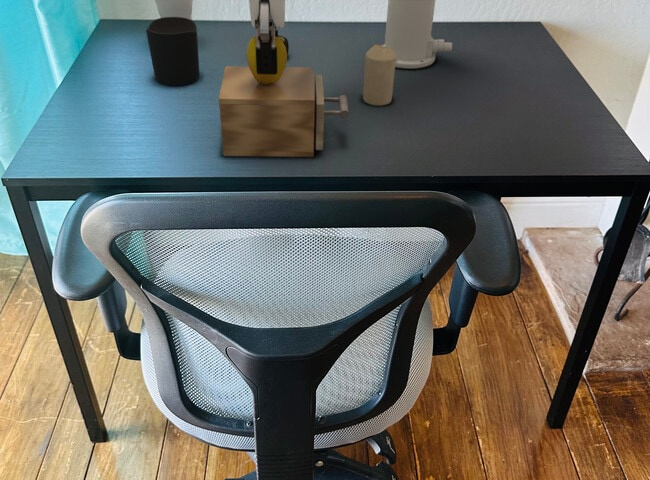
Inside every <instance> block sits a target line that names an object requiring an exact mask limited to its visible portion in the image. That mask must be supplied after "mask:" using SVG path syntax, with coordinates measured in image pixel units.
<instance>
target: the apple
mask: <svg viewBox="0 0 650 480" xmlns="http://www.w3.org/2000/svg"><path fill="white" fill-rule="evenodd" d="M256 47H257V35H255V36H253V37H252V38H251V39H250V41H249V42H248V45H247V49H246V60H247V66H248V67H249V68H250V71H251V73H252V74H253V76H254V78H255V79H256V80H257V82H260V83H262V84H270V83H275V82H277V81H278V80H279V79H280V78H281V76H282V74H283V71H284V69H285V67H287V64H288V55H287V51H286V48H285V45H284V43H283V42H282V41H281V39H279V38H278V37H275V47H277V74H257V70H256Z"/></svg>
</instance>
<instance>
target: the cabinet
mask: <svg viewBox="0 0 650 480" xmlns="http://www.w3.org/2000/svg"><path fill="white" fill-rule="evenodd" d="M218 105H219V106H218V107H219V117H220V118H219V119H220V130H221V142H222V155H223V157H284V158H285V157H287V158H288V157H291V158H292V157H293V158H294V157H295V158H296V157H297V158H314V154H315V122H314V109H315V76H314V67H307V66H306V67H303V66H301V67H298V66H290V67H289V66H286V67H285V69H284V71H283V74H282V76H281V78H280V79H279V80H278V81H277V82H275V83H270V84H262V83H260V82H257V80H256V79H255V78H254V76H253V74H252V73H251V71H250V68H249V66H241V65H240V66H235V65H226V66H225V67H224V71H223V76H222V81H221V85H220V91H219V96H218Z"/></svg>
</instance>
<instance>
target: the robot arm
mask: <svg viewBox="0 0 650 480" xmlns="http://www.w3.org/2000/svg"><path fill="white" fill-rule="evenodd" d="M248 5H249V15H250V23H251V26H252V28H254V29H255V30H256V32H255V33H256V35H255V36H257V47H256V70H257V74H277V47H275V37H278V36H279V30H283V28H284V27H285V23H286V0H248ZM435 7H436V0H387V12H386V23H385V35H384V44H381V45H382V46H385V47H390V48H391V49H392V50H393V51H394V53H395V54H396V62H395V68H398V69H407V70H409V69H411V70H413V69H415V70H416V69H421V68H426V67H429V66H431V65H432V64H433V63H435V61H436V54H437V52H442V53H452V51H453V43H452V42H451V41H450V42H447V41H446V42H445V39H442V38H441V39H440V38H439V39H434V38H433V35H432V29H433V23H434V16H435V15H434V14H435ZM277 28H279V30H278V29H277Z"/></svg>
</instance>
